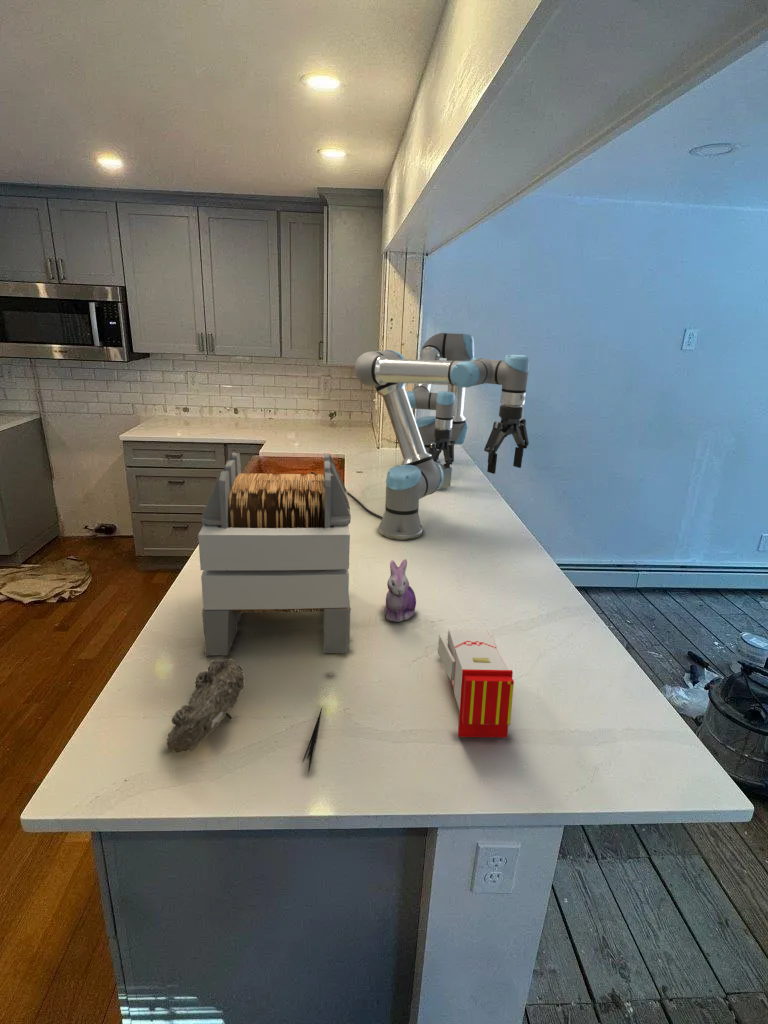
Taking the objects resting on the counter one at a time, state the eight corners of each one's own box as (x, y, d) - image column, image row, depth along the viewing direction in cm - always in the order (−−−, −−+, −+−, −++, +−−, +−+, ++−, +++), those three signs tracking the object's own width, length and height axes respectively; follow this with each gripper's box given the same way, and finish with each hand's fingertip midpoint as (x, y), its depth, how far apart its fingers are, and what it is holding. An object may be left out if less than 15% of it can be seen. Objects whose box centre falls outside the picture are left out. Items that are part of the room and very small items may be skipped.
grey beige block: (450, 486, 252) (452, 467, 249) (439, 488, 247) (440, 469, 245) (438, 482, 257) (439, 463, 254) (427, 484, 253) (428, 465, 250)
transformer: (226, 586, 157) (217, 442, 143) (344, 585, 161) (346, 445, 147) (202, 658, 125) (189, 482, 112) (350, 654, 129) (354, 483, 115)
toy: (488, 613, 130) (523, 677, 101) (484, 667, 133) (517, 744, 104) (435, 612, 130) (455, 676, 101) (432, 666, 133) (451, 743, 103)
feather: (331, 679, 122) (336, 673, 122) (307, 777, 96) (313, 769, 95) (324, 675, 122) (329, 669, 121) (298, 772, 95) (304, 764, 95)
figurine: (392, 627, 141) (395, 572, 136) (374, 608, 149) (376, 556, 144) (425, 619, 145) (429, 566, 140) (405, 601, 154) (408, 550, 149)
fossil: (192, 660, 117) (244, 628, 112) (224, 691, 120) (276, 661, 115) (142, 746, 98) (202, 712, 93) (182, 779, 101) (242, 748, 96)
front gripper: (496, 410, 170) (488, 478, 177) (544, 404, 185) (536, 467, 192) (477, 406, 175) (470, 472, 182) (526, 400, 191) (518, 462, 198)
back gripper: (452, 424, 252) (448, 474, 260) (420, 429, 240) (417, 481, 248) (465, 427, 247) (460, 478, 255) (432, 432, 235) (429, 485, 242)
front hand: (504, 469), depth 187 cm, fingers open, 13 cm apart
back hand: (439, 479), depth 251 cm, fingers closed on grey beige block, 7 cm apart
